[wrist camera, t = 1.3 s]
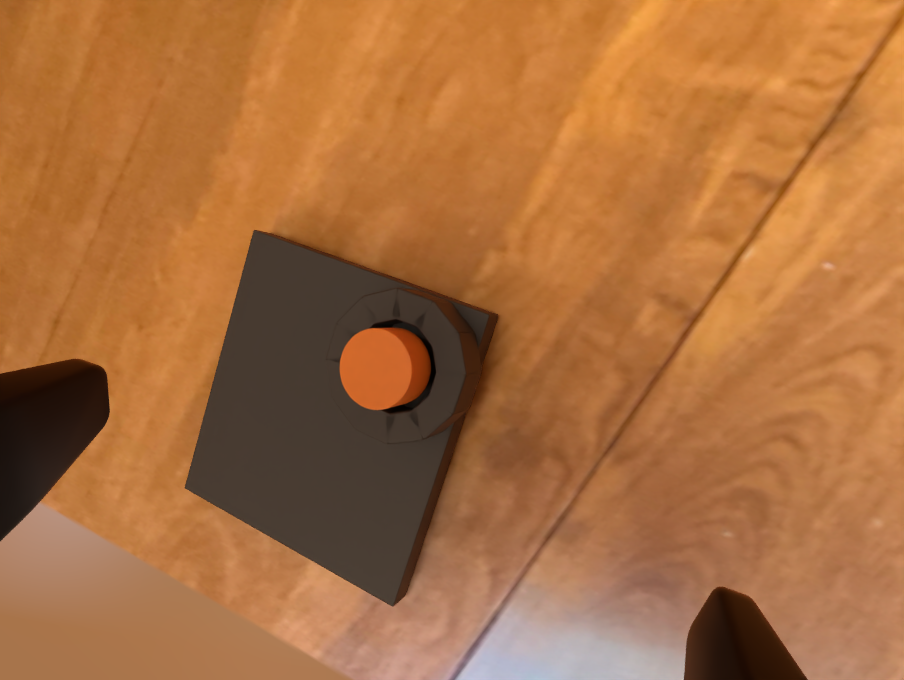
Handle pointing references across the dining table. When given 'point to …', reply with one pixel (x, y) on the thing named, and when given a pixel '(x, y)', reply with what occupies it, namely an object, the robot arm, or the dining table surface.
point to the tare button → (384, 367)
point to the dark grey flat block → (333, 413)
